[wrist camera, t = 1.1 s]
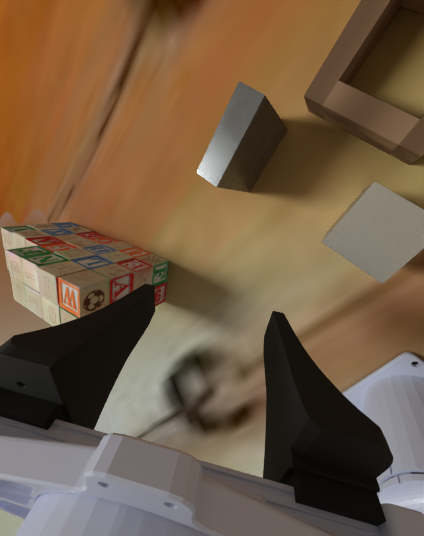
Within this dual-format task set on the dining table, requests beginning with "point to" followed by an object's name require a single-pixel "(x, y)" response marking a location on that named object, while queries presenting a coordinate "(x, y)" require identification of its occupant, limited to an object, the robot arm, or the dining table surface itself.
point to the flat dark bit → (242, 141)
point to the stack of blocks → (75, 270)
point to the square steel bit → (378, 232)
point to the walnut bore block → (357, 102)
